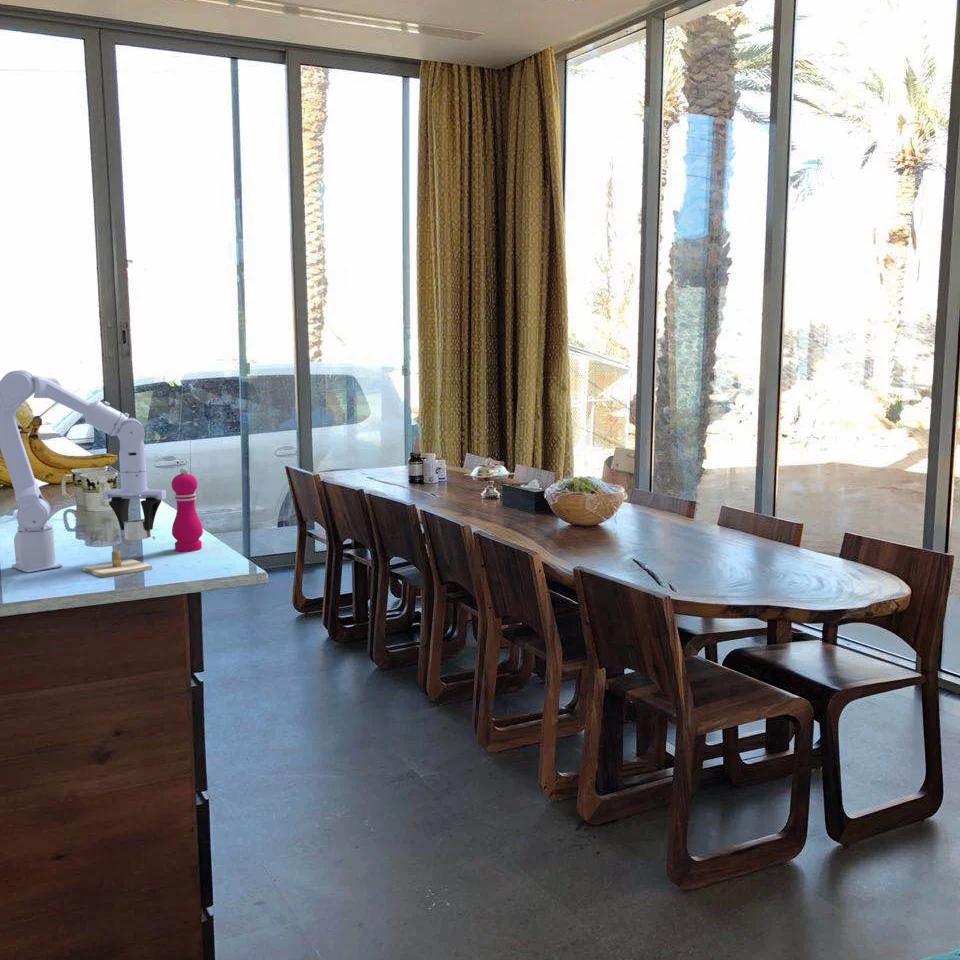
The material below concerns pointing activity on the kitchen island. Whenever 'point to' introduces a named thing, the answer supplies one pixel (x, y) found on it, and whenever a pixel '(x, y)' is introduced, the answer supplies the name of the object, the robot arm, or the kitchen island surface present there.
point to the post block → (116, 566)
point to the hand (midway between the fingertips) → (136, 529)
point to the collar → (135, 530)
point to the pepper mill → (186, 513)
